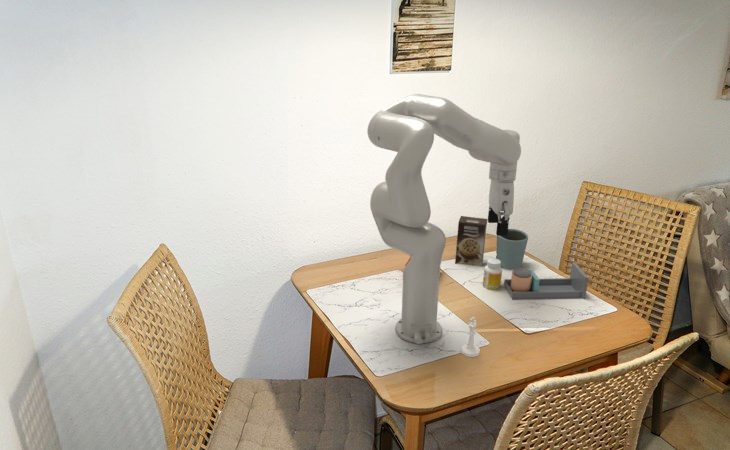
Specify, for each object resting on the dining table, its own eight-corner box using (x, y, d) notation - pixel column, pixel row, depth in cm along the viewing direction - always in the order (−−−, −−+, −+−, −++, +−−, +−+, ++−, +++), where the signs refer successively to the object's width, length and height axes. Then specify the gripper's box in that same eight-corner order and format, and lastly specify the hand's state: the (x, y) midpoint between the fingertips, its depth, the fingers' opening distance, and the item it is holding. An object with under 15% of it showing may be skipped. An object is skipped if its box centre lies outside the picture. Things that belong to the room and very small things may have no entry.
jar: (532, 296, 168) (535, 275, 165) (513, 296, 167) (515, 275, 165) (526, 286, 173) (529, 266, 171) (507, 287, 173) (509, 266, 170)
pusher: (537, 296, 167) (539, 279, 165) (533, 296, 167) (535, 279, 165) (530, 285, 174) (532, 269, 172) (526, 285, 174) (528, 269, 171)
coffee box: (454, 265, 189) (457, 221, 183) (457, 258, 195) (460, 215, 189) (481, 269, 187) (485, 224, 180) (483, 261, 192) (487, 218, 186)
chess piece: (466, 343, 146) (469, 310, 142) (483, 350, 143) (486, 317, 139) (456, 352, 143) (459, 318, 139) (474, 359, 140) (477, 325, 136)
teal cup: (499, 258, 195) (502, 226, 190) (528, 264, 190) (532, 232, 186) (489, 269, 187) (492, 236, 182) (519, 276, 182) (523, 242, 177)
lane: (584, 301, 167) (588, 277, 164) (512, 302, 166) (515, 278, 163) (571, 285, 176) (575, 262, 173) (502, 286, 175) (505, 263, 172)
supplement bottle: (478, 288, 174) (481, 260, 171) (489, 283, 178) (492, 255, 174) (492, 294, 171) (495, 266, 167) (503, 289, 174) (506, 261, 170)
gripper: (524, 182, 152) (518, 240, 159) (506, 165, 168) (501, 217, 175) (497, 183, 152) (492, 240, 158) (482, 165, 168) (477, 218, 174)
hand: (497, 228), depth 167 cm, fingers open, 9 cm apart
